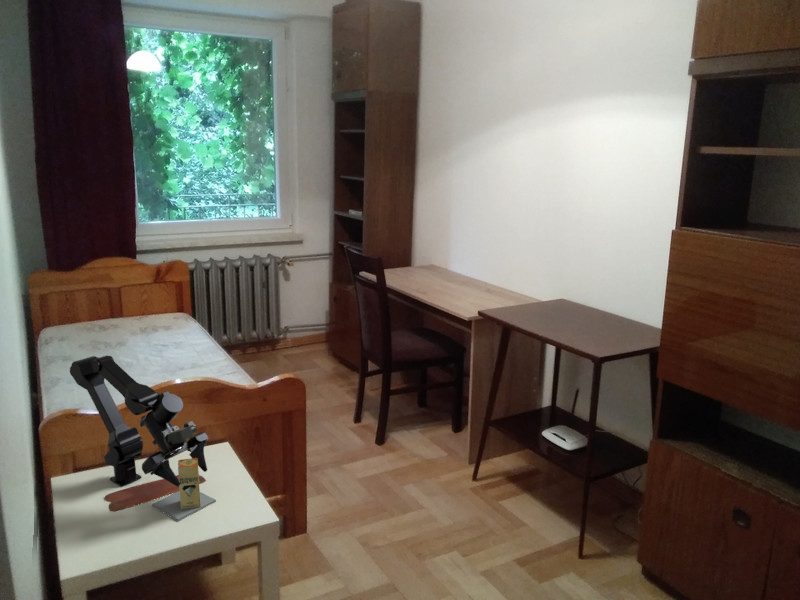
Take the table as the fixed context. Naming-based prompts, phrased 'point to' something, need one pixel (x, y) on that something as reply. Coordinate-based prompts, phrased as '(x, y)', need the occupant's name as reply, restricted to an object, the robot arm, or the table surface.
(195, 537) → the table surface
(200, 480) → the wooden tablet
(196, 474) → the shoe polish box
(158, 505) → the slate mat
